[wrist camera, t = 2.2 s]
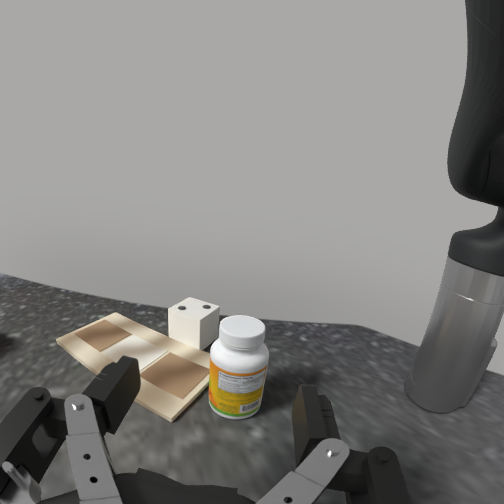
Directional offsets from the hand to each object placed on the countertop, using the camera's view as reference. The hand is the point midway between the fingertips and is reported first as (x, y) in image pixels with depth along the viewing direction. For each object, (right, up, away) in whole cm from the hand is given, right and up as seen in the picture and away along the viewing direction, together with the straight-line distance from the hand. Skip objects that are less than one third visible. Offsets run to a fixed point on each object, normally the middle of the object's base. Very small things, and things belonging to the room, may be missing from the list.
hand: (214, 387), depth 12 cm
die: (-6, -6, +25) cm, 26 cm away
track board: (-13, -7, +19) cm, 24 cm away
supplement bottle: (0, -9, +14) cm, 17 cm away
